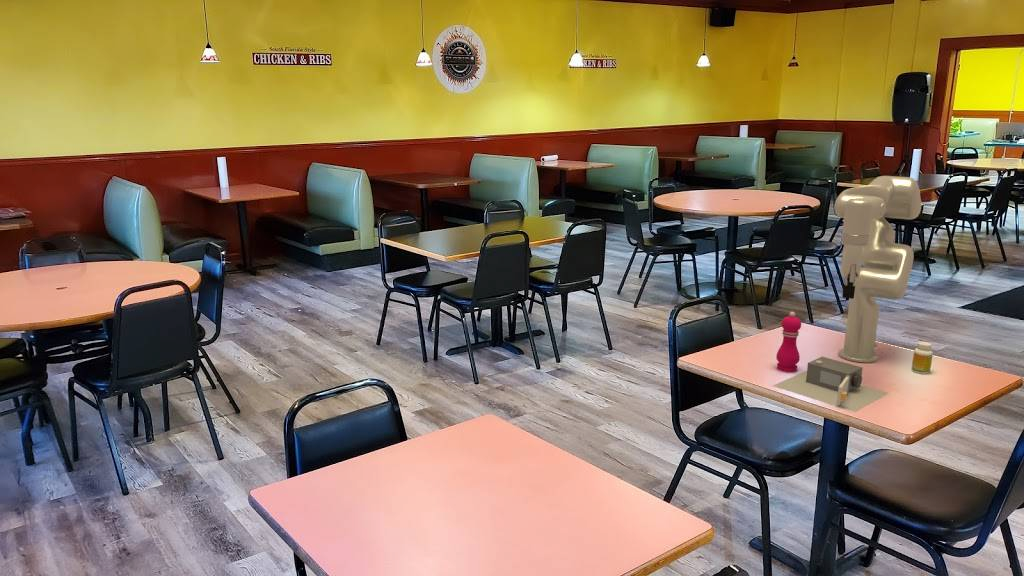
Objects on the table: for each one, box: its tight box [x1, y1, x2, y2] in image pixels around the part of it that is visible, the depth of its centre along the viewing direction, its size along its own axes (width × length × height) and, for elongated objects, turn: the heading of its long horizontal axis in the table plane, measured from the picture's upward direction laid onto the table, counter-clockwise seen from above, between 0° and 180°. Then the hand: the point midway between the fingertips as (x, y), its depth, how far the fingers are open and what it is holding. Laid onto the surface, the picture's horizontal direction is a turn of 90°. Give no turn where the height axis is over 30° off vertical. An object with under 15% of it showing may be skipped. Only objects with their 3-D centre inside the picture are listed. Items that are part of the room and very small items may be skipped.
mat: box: [772, 370, 889, 413], centre depth 234 cm, size 22×26×1 cm
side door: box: [837, 375, 850, 405], centre depth 224 cm, size 2×11×6 cm, turn 146°
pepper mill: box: [775, 311, 802, 373], centre depth 248 cm, size 7×7×20 cm
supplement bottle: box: [911, 341, 934, 375], centre depth 249 cm, size 5×5×10 cm
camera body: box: [806, 356, 863, 393], centre depth 236 cm, size 9×14×7 cm, turn 41°
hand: (847, 297), depth 236 cm, fingers closed
